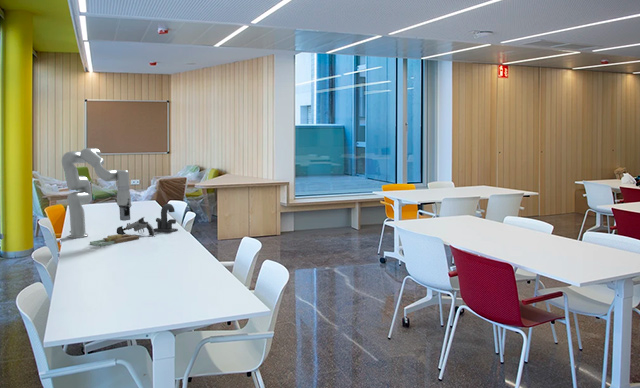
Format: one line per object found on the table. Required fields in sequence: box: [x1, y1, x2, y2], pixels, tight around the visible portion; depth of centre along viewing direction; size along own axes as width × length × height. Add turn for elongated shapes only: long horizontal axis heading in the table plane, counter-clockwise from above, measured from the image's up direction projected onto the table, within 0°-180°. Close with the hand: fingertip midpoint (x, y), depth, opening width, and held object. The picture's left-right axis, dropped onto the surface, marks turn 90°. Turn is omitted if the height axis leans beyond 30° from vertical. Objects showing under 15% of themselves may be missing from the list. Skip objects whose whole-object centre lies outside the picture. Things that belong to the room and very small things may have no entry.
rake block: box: [118, 204, 131, 222], centre depth 377 cm, size 4×5×11 cm
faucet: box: [153, 203, 179, 234], centre depth 414 cm, size 18×16×20 cm
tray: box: [89, 238, 116, 247], centre depth 364 cm, size 11×11×2 cm
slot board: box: [102, 233, 140, 244], centre depth 376 cm, size 14×18×2 cm
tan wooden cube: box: [106, 234, 117, 242], centre depth 370 cm, size 4×4×4 cm
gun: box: [116, 216, 155, 237], centre depth 397 cm, size 5×27×15 cm, turn 78°
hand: (125, 215), depth 377 cm, fingers closed on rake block, 4 cm apart
